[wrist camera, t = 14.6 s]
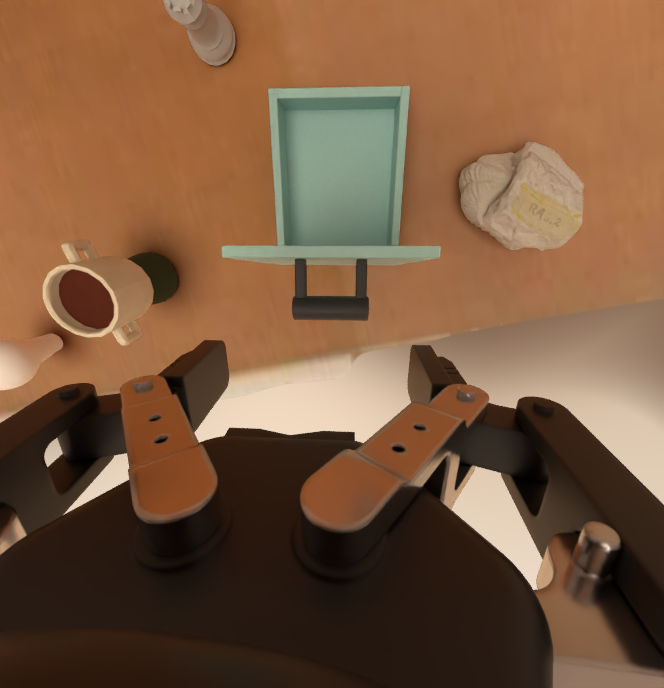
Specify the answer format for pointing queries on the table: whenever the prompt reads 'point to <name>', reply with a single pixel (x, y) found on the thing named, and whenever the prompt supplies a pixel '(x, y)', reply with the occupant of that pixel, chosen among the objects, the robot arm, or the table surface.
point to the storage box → (338, 164)
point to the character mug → (106, 291)
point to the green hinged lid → (331, 255)
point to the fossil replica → (523, 197)
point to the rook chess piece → (204, 29)
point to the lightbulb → (24, 358)
